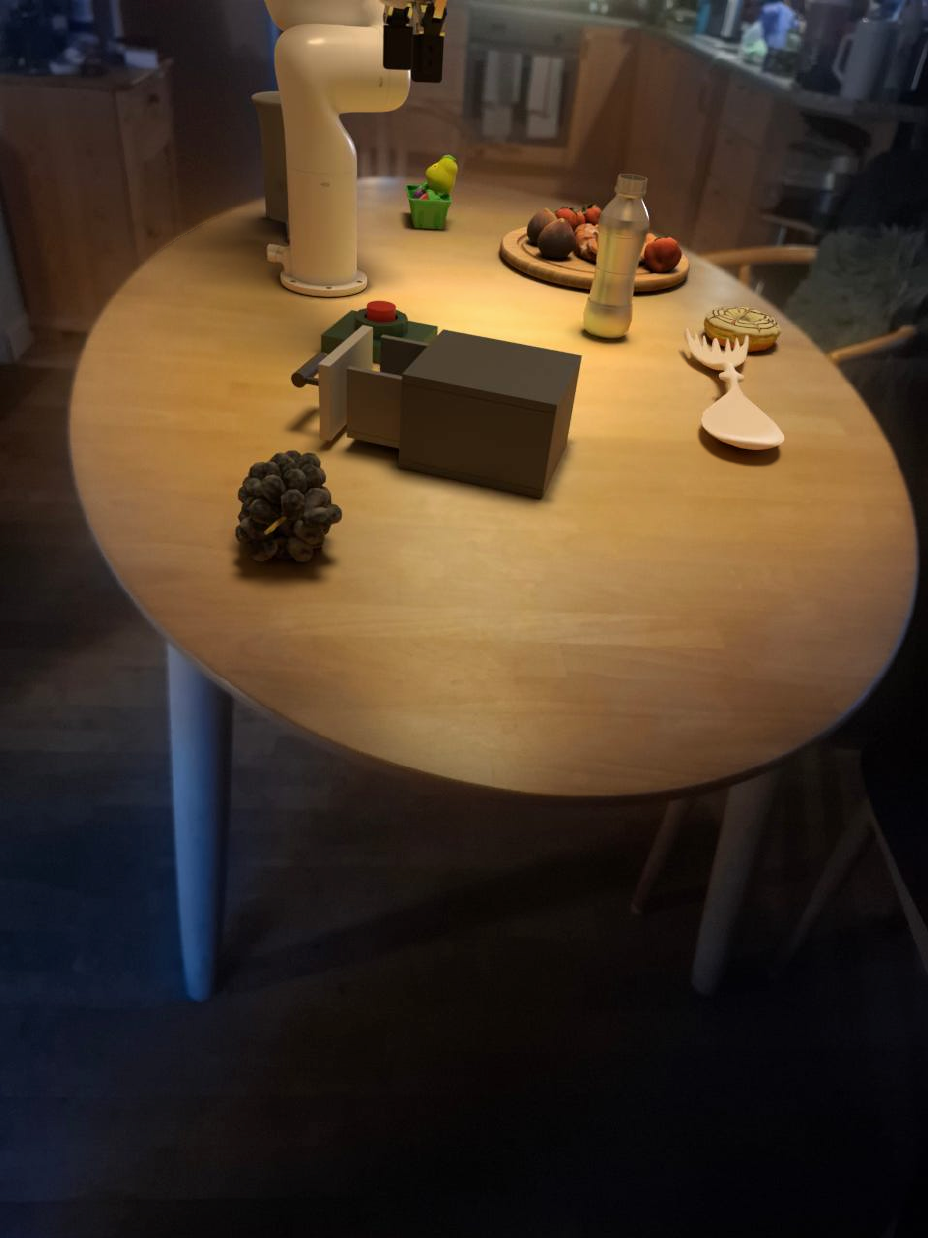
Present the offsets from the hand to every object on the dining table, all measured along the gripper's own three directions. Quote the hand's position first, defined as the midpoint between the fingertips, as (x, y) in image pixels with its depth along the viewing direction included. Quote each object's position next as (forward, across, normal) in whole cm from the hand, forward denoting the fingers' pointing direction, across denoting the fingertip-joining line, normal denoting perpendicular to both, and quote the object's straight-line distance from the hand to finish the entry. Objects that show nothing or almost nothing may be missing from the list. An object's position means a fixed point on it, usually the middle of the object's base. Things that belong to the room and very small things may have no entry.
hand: (411, 75), depth 91 cm
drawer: (+29, +22, -9) cm, 37 cm away
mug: (+29, -55, -1) cm, 62 cm away
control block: (+30, -1, -3) cm, 30 cm away
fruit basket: (+29, -57, +23) cm, 68 cm away
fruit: (+31, +38, -22) cm, 54 cm away
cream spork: (+30, +22, +34) cm, 51 cm away
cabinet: (+30, +28, 0) cm, 42 cm away
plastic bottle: (+30, 0, +30) cm, 42 cm away
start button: (+26, -1, -3) cm, 26 cm away
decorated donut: (+30, +5, +49) cm, 57 cm away
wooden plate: (+30, -31, +44) cm, 61 cm away
